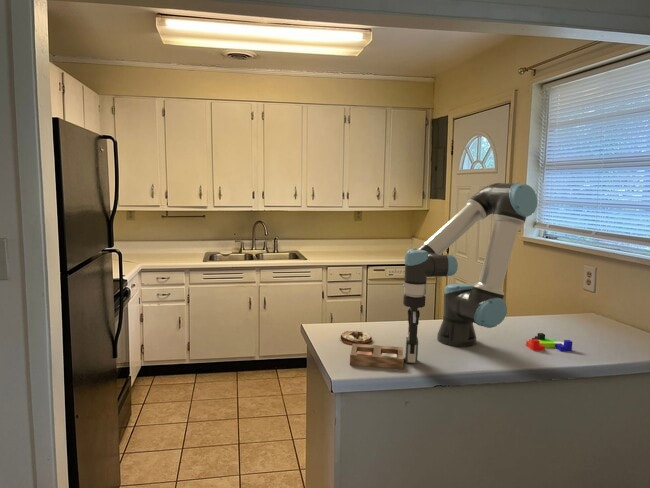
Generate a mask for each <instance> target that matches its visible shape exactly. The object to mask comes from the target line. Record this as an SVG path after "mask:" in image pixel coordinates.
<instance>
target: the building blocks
mask: <svg viewBox="0 0 650 488" xmlns="http://www.w3.org/2000/svg"><path fill="white" fill-rule="evenodd" d="M525 346H526V347H528V348H529V349H530V350H531V351H533V352H545V348H549V349H554V348H555V349H557V350H558V351H559V352H562V353H564V352H568V353H569V352H571V353H572V351H573V341H572V340H570V339H564V340H563V341H558V340H556V339H550V338H548V337H547V338H546V334H545V333H543V332H538V333H537V335H535V336H534V337H532V338H531V339H529V340H526V342H525Z"/></svg>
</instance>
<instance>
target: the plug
mask: <svg viewBox="0 0 650 488" xmlns="http://www.w3.org/2000/svg"><path fill="white" fill-rule="evenodd" d="M407 334H408V335H407V336H406V337H405V339H406V340H405V357H404V360H405V361H404V363H405V364H416V365H417V364H418V354H419V353H418V352H419V338H418V337H417V345H416V360H415V363H414V362H407V360H408V344H407V342H409V332H407Z"/></svg>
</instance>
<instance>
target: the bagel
mask: <svg viewBox="0 0 650 488" xmlns="http://www.w3.org/2000/svg"><path fill="white" fill-rule="evenodd" d="M372 339H373V337H372V335H371V334H370V333H368V332H366V331H359V330H355V331H353V330H352V331H350V330H346V331H344V332H342V333H341V334H340V340H339V342H342V343H343V344H345V345H347V344H348V345H352V346H353V344H366V345H370V343H371V342H372Z"/></svg>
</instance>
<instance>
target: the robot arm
mask: <svg viewBox="0 0 650 488" xmlns="http://www.w3.org/2000/svg"><path fill="white" fill-rule="evenodd" d="M537 207H538V195H537V194H536V191H535V190H534V188H533V187H532V186H530V185H528V184H525V183H519V182H517V183H516V182H515V183H513V182H512V183H506V182H505V183H504V182H503V183H502V182H495V183H491V184H489V185H487V186H484V188H482V189H480V190H479V191H478V192H476V193H475V194H473V195H472V196H471V197H470V198H469V199H468V200H467V201H466V202H465V206H464V207H463V208H461V209H460V211H458V212H457V213H456V214H454V215H453V216H452V217H451V218H450V219H449V220H448V221H447V222H446V223H445V224H444V225H442V226H441V227H440V228H439V229H437V231H436V232H435V233H433V235H431V236H430V237H429V238H428V239H427V240H426V241H425V242H423V243H422V244H421V245H419V246H418V247H417V248H411V249H410V248H409V250H407V251H406V253H405V255H404V284H402V288H403V293H404V294H403V300H402V301H403V302H402V304H403V306H405V307H407V308H408V309H407V322H408V330H407V331H408V332H409V342H407V344H408V360H407V362H414V363H415V360H416V345H417V338H418V326H419V322H420V321H419V320H420V315H421V313H420V310H419V308H421V309H423V308H424V307H426V294H427V280H428V278H437V277H438V278H441V277H446V278H447V277H451V276H454V275H455V274H457V271H458V268H459V267H458V265H459V264H458V263H459V262H458V260H457V258H456V257H455V256H454V255H452V254H443V253H445V251H447V250H448V248H450V247H451V246H452V245H453V244H454V243H456V241H458V240H459V239H460V238H461V237H462V236H463V235H464V234H465V233H466V232H467V231H469V230H470V229H471V228H472V227H473V226H474V225H476V224H477V223H478V221H480V220H485V219H486V218H487V217H488V216H490V215H492V218H493V219H494V223H493V226H492V227H493V228H492V231H491V235H490V239H489V242H488V245H487V248H486V252H485V253H486V254H485V256H484V261H483V264H482V267H481V271H480V274H479V276H478V277H479V279H478V281H477V282H476V283H475V284H471V283H470V284H469V283H453V284H452V283H451V284H447V285H446V286H445V289H444V293H443V313H442V321H441V324H440V327H439V329H438V331H437V341H438V342H440V343H442V344H444V345H448V346H452V347H463V348H466V347H472V346H475V345H476V344H477V335H476V331H475V326H474V324H475V325H478V326H480V327H484V328H487V329H491V328H495V327H498V325H500V324H501V323H502V322H503V321H504V320H505V318H506V316H507V314H508V306H507V303H506V301H505V300H504V297H505V293H504V291H503V289H502V288H503V285H504V281H505V277H506V274H507V271H508V268H509V264H510V260H511V257H512V253H513V250H514V246H515V242H516V239H517V235H518V232H519V228H520V227H521V226H522V225H524V224H525V223H526V220H527V217H530V216H532V215H533V214H535V212H536V209H537ZM408 332H407V333H408ZM414 363H413V364H414Z"/></svg>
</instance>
